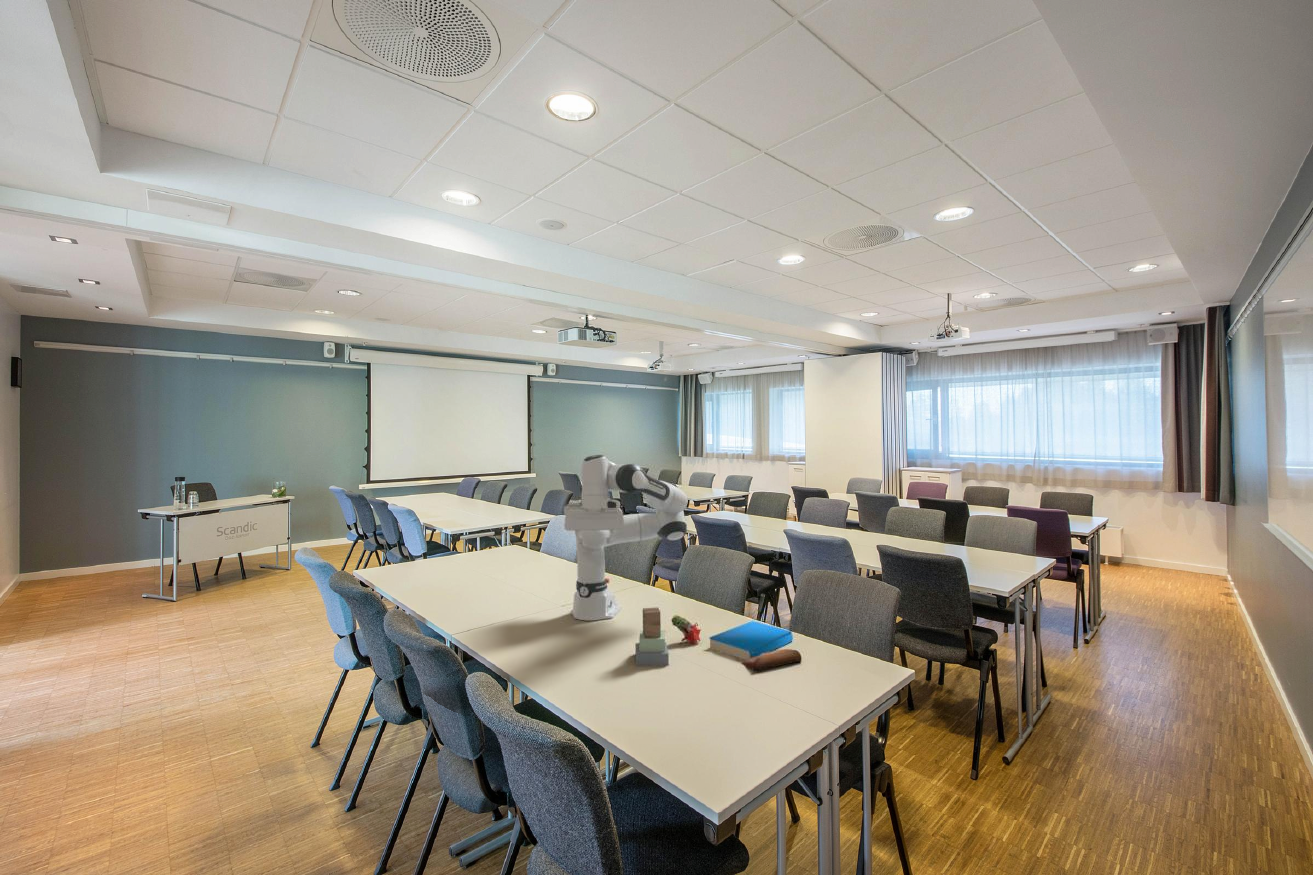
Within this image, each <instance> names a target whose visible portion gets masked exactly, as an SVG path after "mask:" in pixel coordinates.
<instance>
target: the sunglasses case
mask: <svg viewBox="0 0 1313 875" xmlns="http://www.w3.org/2000/svg"><path fill="white" fill-rule="evenodd" d="M802 661H803V660H802V655H801V652H799V651H798V650H796V649H791V648H789V649H788V648H784V649H777V650H776V649H775V650H772V651H770V652H766V653H762V654H761V655H760V656H756V657H753V658H749V659H747V660H745V659H744V661H741V665H743V666H744V667H746V668H747V669H749V670H750V671H751V672H754V673H756V672H757V673H758V672H761V671H764V670H767V669H771V668H772V667H779V666H782V665H787V664H792V663H796V662H800V663H801V662H802Z"/></svg>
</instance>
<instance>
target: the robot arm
mask: <svg viewBox="0 0 1313 875" xmlns="http://www.w3.org/2000/svg"><path fill="white" fill-rule="evenodd" d="M581 484H582V490H581V502H573V503H572V502H568V503H567V504H565V505H564V507H563V514H564V516H565V517H564V529H565V530H566V531H567V532H569V531H572V532H573V531H574V536H575V537H576V543H575V544H576V559H577V562H576V565H577V566H576V567H577V570H576V571H577V580H576V583H575V590H576V591H575V593H574V594H573V606H572V609H571V610H570V615H572V616H573V618H574V619H576V620H580V621H599V620H600V621H601V620H604V619H606V620H607V619H612V618H614V617H615V615H616V614H617V613H618V612H619V611H620V610H621V608H622V606H621V605H620V604H617V603H616V596H615V594H614V593H613V592H612V591H611V590H610V589H609V588H608V584H610V581H611V580H610V578H608V577H607V578H606V560H605V559H606V558H605V551H604V550H605V549H604V548H605V547H609V546H612V545H614V546H615V545H618V544H623V543H631V542H639V541H645V540H651V539H654V538H655V539H656V538H658V537H660V538H662V539H664V540H667V541H671V542H672V541H678V540H680V539H682V538H684V537H685V536H686V534H687V532H688V528H687V527H688V526H687V522H686V518H685V512H684V510H686V507H687V505H688V496H687V494H686V492H684V490H682V489H681V488H679V487H677V486H675V485H674V484H671V483H670V482H667V481H664V480H660V479H657V478H654V477H653V476H650V475H649V474H648V473H647V472H646V471H645V470H644V469H643V467H641V466H640V465H638V464H636V463H629V464H628V463H627V464H621V463H619V464H618V463H614V462H612V461H610V460H609V459H608V458H607V457H606V455H604V454H595V455H588V456H587V457H585V458H584V459H583V462H582V464H581ZM608 492H614V493H615V492H617V493H627V494H632V495H633V494H639V493H642V494H643V498H644V501H645V503H646V505H648V506H649V507H650V508H652V509H654V510H655V511H654V512H655V513H649V512H648V513H647V512H646V513H634V514H633V513H632V514H624V513H623V511H622V509H621V502H620V501H619V500H617V499H614V498H611V497H608Z"/></svg>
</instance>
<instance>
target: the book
mask: <svg viewBox="0 0 1313 875" xmlns="http://www.w3.org/2000/svg"><path fill="white" fill-rule="evenodd" d="M793 639H794V636H793V633H792V630H787V629H785V628H780V627H777V626H773V625H770V624H765V623H761V622H758V621H755V620H752V621H748V622H747V623H743V624H741V625H739V626H736V627H733V628H731V629H727V630H726V631H723V632H720V633H716V634H715V635H712V636H710V637H709V642H710V643H709V647H710V648H709V649H711V650H716V651H718V652H722V653H724V654H727V655H729V656H730V655H731V656H732V657H737V658H739V659H742V660H744V661H745V660H747V659H750V658H753V657H756V656H760V655H761V654H762V653H766V652H772V651H775V650H776V649H779V648H781V647H782V646H785V645H788V644H789V643H791V642H792V641H793Z"/></svg>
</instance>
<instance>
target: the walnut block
mask: <svg viewBox="0 0 1313 875" xmlns="http://www.w3.org/2000/svg"><path fill="white" fill-rule="evenodd" d="M661 625H662V624H661V610H660V609H659V607H656V606H655V607H643V608H642V631H643V634H644V637H645V638H657V637H661V631H662V629H661V628H662V627H661Z"/></svg>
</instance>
